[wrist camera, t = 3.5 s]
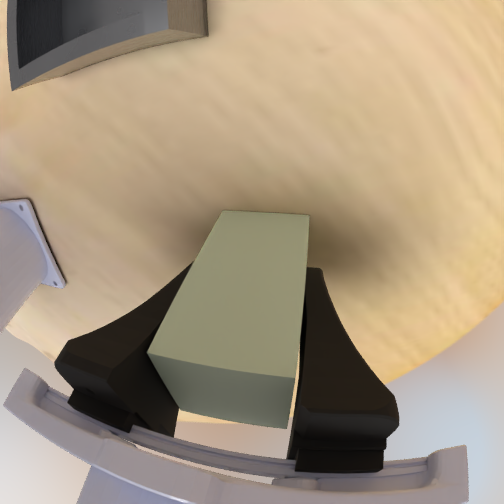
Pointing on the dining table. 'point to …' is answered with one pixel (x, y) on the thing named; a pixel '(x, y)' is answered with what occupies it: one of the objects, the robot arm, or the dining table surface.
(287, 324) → the green peg
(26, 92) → the dining table surface
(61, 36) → the grey open box
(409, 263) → the dining table surface
